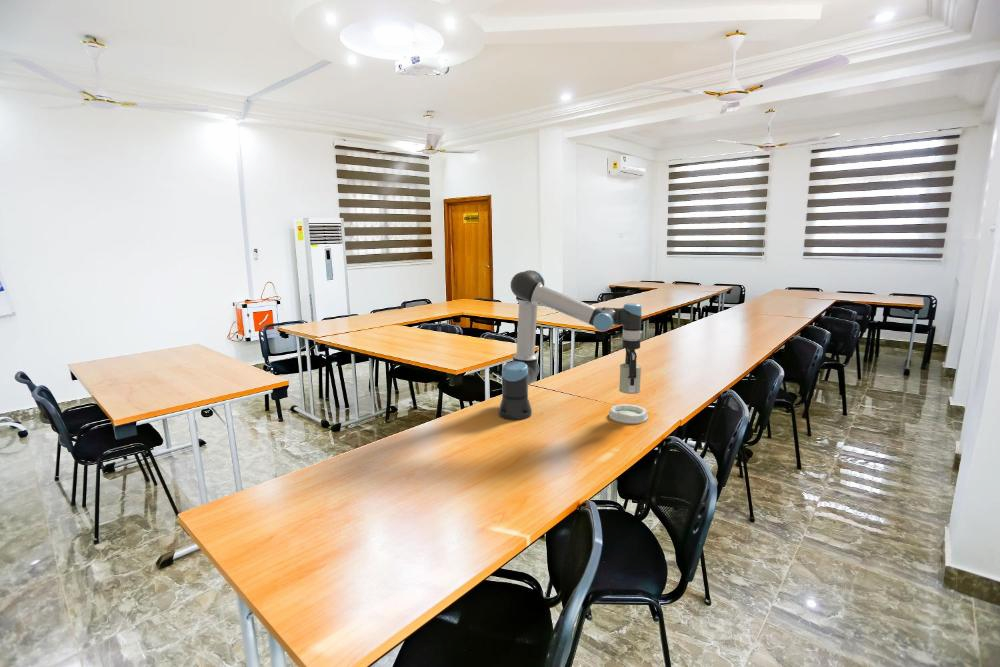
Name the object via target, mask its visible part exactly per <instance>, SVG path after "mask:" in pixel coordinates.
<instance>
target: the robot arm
mask: <svg viewBox="0 0 1000 667" xmlns="http://www.w3.org/2000/svg"><path fill="white" fill-rule="evenodd" d="M510 290H511V293H513V295H514V296H515V300H516V301H517V302H518V317H517V332H516V334H517V335H516V338H517V339H516V352H515V353H514V354H513V355H512V361H511V362H507V363H505V364H504V365H503V366H502V369H501V376H502V377H501V382H502V383H501V388H502V390H501V391H502V393H501V394H502V398H501V401H500V405H499V408H498V415H499V417H501V418H503V419H506V420H514V421H515V420H523V419H527V418H530V417H531V416H532V413H533V411H532V407H531V403H530V400H529V392H528V391H529V385H530V384H532V383H533V382H534V381H536V379H537V377H538V375H539V373H540V365H539V363H538V355H536V353H535V352H536V351H535V350H536V338H537V337H536V334H537V321H538V320H537V319H538V318H537V317H538V304H540V305H542V306H545V307H547V308H550V309H552V310H555V311H556V312H559V313H562V314H564V315H566V316H569V317H571V318H573V319H576V320H579V321H581V322H584V323H586V324H588V325H590V326H592V327H594V328H595V330H597V331H599V332H606V331H609V330H610V329H611V328H612V327H613V326H622V348H623V349H625V359H624V360H625V361H624V364H625V363H626V364H629V377H628V378H629V382H628V392H635V378H636V377H637V376H636V364H637V356H638V355H637V352H636V350H639V349H640V348H641V335H642V334H643V331H642V317H643V316H642V305H641V304H639V303H633V302H632V303H625V304H623V307H620V308H619V307H605V306H604V307H595V306H593V305H591V304H588V303H586V302H584V301H581V300H578V299H576V298H573V297H571V296H569V295H566V294H564V293H562V292H558V291H557V290H554V289H551V288H549V287H547V286H545V279H544V276H543V275H542V274H541V273H540V272H539V271H536V270H532V269H530V270H527V269H526V270H525V271H520V272H518V273H516V274H514V276H512V278H511V281H510Z"/></svg>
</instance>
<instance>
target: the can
mask: <svg viewBox="0 0 1000 667" xmlns="http://www.w3.org/2000/svg"><path fill="white" fill-rule="evenodd" d="M641 374H642V365H641V364H638V363H636V376H637V377H636V378H635V392H628V382H629V378H628V377H629V364H626V363H625V362H624V363H621V364H620V365H619V389H618V391H619V392H620V393H622V394H628V395H637V394H640V393H641V377H642V376H641Z"/></svg>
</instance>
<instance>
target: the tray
mask: <svg viewBox="0 0 1000 667" xmlns="http://www.w3.org/2000/svg"><path fill="white" fill-rule="evenodd" d="M608 416H609V419H611V420H613V421H615V422H617V423H620V424H621V423H622V424H629V425H633V424H634V425H636V424H638V425H639V424H643V423H645V422H647V421H648V420H649V414H648V411H647V409H646V408H644V407H642V406H640V405H636V404H627V403H626V404H624V403H620V404H614V405H613V406H611V407H610V411H609V412H608Z"/></svg>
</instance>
